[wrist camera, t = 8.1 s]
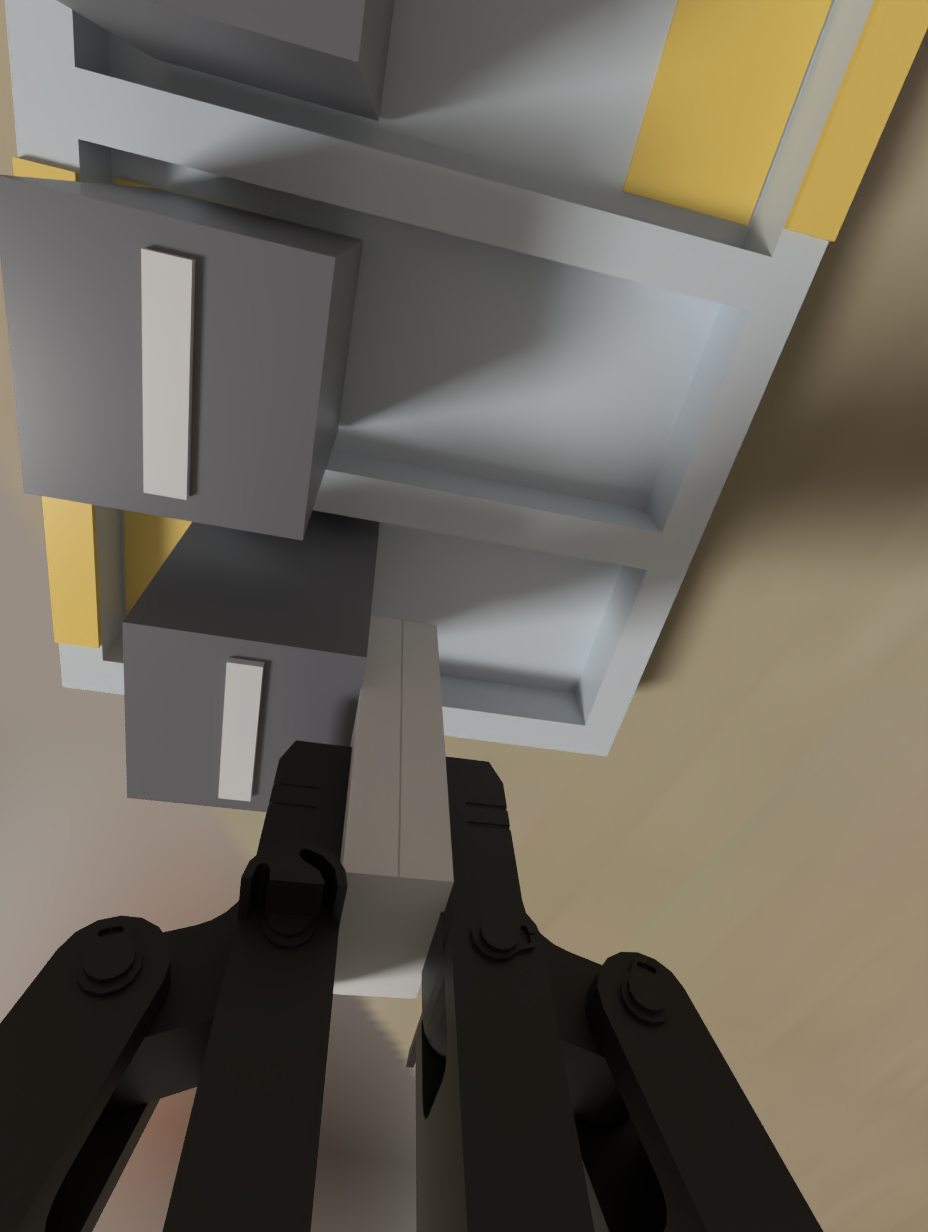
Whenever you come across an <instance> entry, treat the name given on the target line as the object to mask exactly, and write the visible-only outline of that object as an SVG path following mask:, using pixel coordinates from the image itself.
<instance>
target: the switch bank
mask: <svg viewBox="0 0 928 1232" xmlns="http://www.w3.org/2000/svg"><path fill="white" fill-rule="evenodd" d="M5 10H6V22H7V34H8V45H9V57H10V69H11V81H12V93H13V105H14V117H15V129H16V140H17V152H18V157H12V161H13V172H14V176H20V177H32V178H43V179H55V180H66V181H78V182H90V183H101V184H113V185H125V186H136V187H148V188H157V189H161V190H165V191H169V192H173V193H177V194H181V195H185V196H189V197H193V198H197V199H201V200H205V201H209V202H213V203H217V204H221V205H225V206H229V207H233V208H237V209H241V210H245V211H249V212H253V213H257V214H261V215H265V216H269V217H273V218H277V219H281V220H285V221H289V222H293V223H297V224H301V225H305V226H309V227H314V228H318V229H322V230H326V231H330V232H334V233H338V234H342V235H346V236H350V237H354V238H358V239H362V240H363V243H362V251H361V258H360V266H359V274H358V281H357V289H356V296H355V304H354V311H353V319H352V327H351V334H350V342H349V349H348V357H347V364H346V372H345V379H344V387H343V395H342V402H341V410H340V417H339V425H338V432H337V436H336V439H335V442H334V445H333V448H332V451H331V454H330V457H329V460H328V463H327V467H326V470H325V473H324V476H323V479H322V482H321V485H320V488H319V491H318V494H317V498H316V501H315V504H314V507H313V510H315V511H321V512H326V513H332V514H338V515H343V516H349V517H354V518H360V519H366V520H371V521H377V522H380V524H379V535H378V545H377V556H376V566H375V577H374V587H373V598H372V608H371V615H372V616H379V617H385V618H392V619H398V620H405V621H411V622H417V623H424V624H430V625H437V636H438V651H439V667H440V682H441V697H442V712H443V727H444V736H451V737H459V738H467V739H475V740H483V741H491V742H498V743H506V744H514V745H522V746H530V747H538V748H545V749H553V750H561V751H569V752H577V753H585V754H592V755H600V756H607V755H608V753H609V751H610V748H611V746H612V744H613V741H614V739H615V737H616V734H617V732H618V730H619V727H620V725H621V723H622V720H623V718H624V716H625V713H626V711H627V709H628V707H629V704H630V702H631V700H632V697H633V695H634V693H635V690H636V688H637V686H638V683H639V681H640V679H641V676H642V674H643V672H644V669H645V667H646V665H647V662H648V660H649V658H650V656H651V653H652V651H653V649H654V646H655V644H656V642H657V639H658V637H659V635H660V632H661V630H662V628H663V625H664V623H665V621H666V618H667V616H668V614H669V611H670V609H671V607H672V605H673V602H674V600H675V598H676V595H677V593H678V591H679V588H680V586H681V584H682V581H683V579H684V577H685V574H686V572H687V570H688V567H689V565H690V563H691V560H692V558H693V556H694V553H695V551H696V549H697V547H698V544H699V542H700V540H701V537H702V535H703V533H704V530H705V528H706V526H707V523H708V521H709V519H710V516H711V514H712V512H713V509H714V507H715V505H716V502H717V500H718V498H719V496H720V493H721V491H722V489H723V486H724V484H725V482H726V479H727V477H728V475H729V472H730V470H731V468H732V465H733V463H734V461H735V458H736V456H737V454H738V451H739V449H740V447H741V445H742V442H743V440H744V438H745V435H746V433H747V431H748V428H749V426H750V424H751V421H752V419H753V417H754V414H755V412H756V410H757V407H758V405H759V403H760V400H761V398H762V396H763V394H764V391H765V389H766V387H767V384H768V382H769V380H770V377H771V375H772V373H773V370H774V368H775V366H776V363H777V361H778V359H779V356H780V354H781V352H782V349H783V347H784V345H785V342H786V340H787V338H788V336H789V333H790V331H791V329H792V326H793V324H794V322H795V319H796V317H797V315H798V312H799V310H800V308H801V305H802V303H803V301H804V298H805V296H806V294H807V291H808V289H809V287H810V285H811V282H812V280H813V278H814V275H815V273H816V271H817V268H818V266H819V264H820V261H821V259H822V257H823V254H824V252H825V250H826V247H827V245H828V243H829V241H831V242H835V240H836V237H837V235H838V233H839V230H840V228H841V226H842V224H843V221H844V219H845V217H846V214H847V212H848V210H849V207H850V205H851V203H852V201H853V198H854V196H855V194H856V191H857V189H858V187H859V184H860V182H861V180H862V178H863V175H864V173H865V171H866V168H867V166H868V164H869V161H870V159H871V157H872V155H873V152H874V150H875V148H876V145H877V143H878V141H879V138H880V136H881V134H882V132H883V129H884V127H885V125H886V122H887V120H888V118H889V116H890V113H891V111H892V109H893V106H894V104H895V102H896V99H897V97H898V95H899V93H900V90H901V88H902V86H903V83H904V81H905V79H906V76H907V74H908V72H909V70H910V67H911V65H912V63H913V60H914V58H915V56H916V53H917V51H918V49H919V47H920V44H921V42H922V40H923V37H924V35H925V33H926V30H927V28H928V0H395V2H394V9H393V17H392V24H391V32H390V39H389V47H388V54H387V62H386V70H385V77H384V85H383V92H382V100H381V107H380V115H379V121H375V120H372V119H368V118H364V117H361V116H357V115H354V114H350V113H347V112H343V111H339V110H336V109H332V108H329V107H325V106H321V105H318V104H314V103H311V102H307V101H304V100H300V99H296V98H293V97H289V96H286V95H282V94H279V93H275V92H271V91H268V90H264V89H261V88H257V87H254V86H250V85H246V84H243V83H239V82H236V81H232V80H229V79H225V78H221V77H218V76H214V75H211V74H207V73H204V72H200V71H196V70H193V69H189V68H186V67H182V66H179V65H175V64H171V63H168V62H164V61H161V60H157V59H155V58H153V57H151V56H150V55H148V54H146V53H144V52H143V51H141V50H139V49H138V48H136V47H134V46H133V45H131V44H129V43H128V42H126V41H124V40H123V39H121V38H119V37H118V36H116V35H114V34H113V33H111V32H109V31H108V30H106V29H104V28H102V27H101V26H99V25H97V24H96V23H94V22H92V21H91V20H89V19H87V18H86V17H84V16H82V15H81V14H79V13H77V12H76V11H74V10H72V9H71V8H69V7H67V6H65V5H64V4H62V3H60V2H59V1H57V0H5ZM42 503H43V514H44V526H45V537H46V548H47V560H48V571H49V583H50V594H51V605H52V616H53V628H54V640H55V642H56V643H59V651H60V663H61V674H62V686H63V687H68V688H76V689H83V690H92V691H99V692H108V693H115V694H122V695H124V662H123V627H122V622H123V621H124V619H125V618H126V616H127V615H128V613H129V612H130V610H131V609H132V608H133V606H134V605H135V603H136V602H137V600H138V599H139V598H140V596H141V595H142V593H143V592H144V590H145V589H146V587H147V586H148V585H149V583H150V582H151V580H152V579H153V577H154V576H155V575H156V573H157V572H158V570H159V569H160V567H161V566H162V565H163V563H164V562H165V560H166V559H167V557H168V556H169V554H170V553H171V552H172V550H173V549H174V547H175V546H176V544H177V543H178V542H179V540H180V539H181V537H182V536H183V534H184V533H185V531H186V530H187V529H188V527H189V526H190V524H191V523H192V522H191V521H185V520H180V519H174V518H168V517H162V516H156V515H150V514H144V513H139V512H133V511H127V510H121V509H115V508H109V507H104V506H98V505H92V504H86V503H80V502H74V501H69V500H63V499H57V498H51V497H45V496H42Z"/></svg>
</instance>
